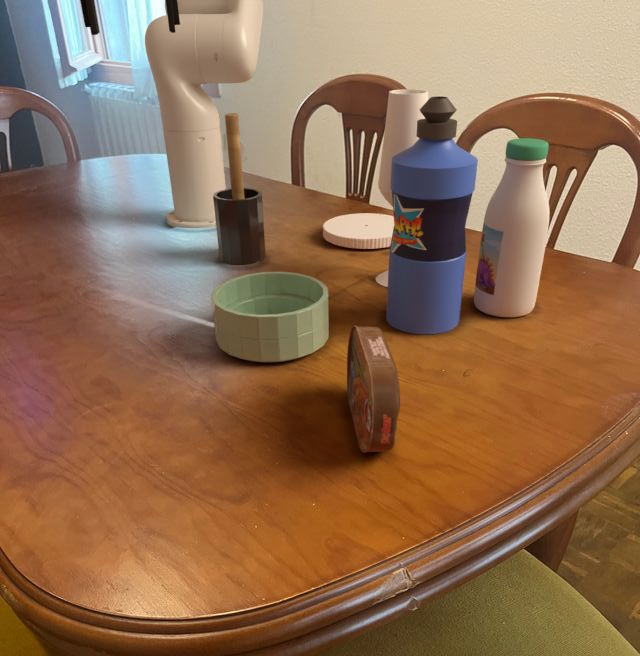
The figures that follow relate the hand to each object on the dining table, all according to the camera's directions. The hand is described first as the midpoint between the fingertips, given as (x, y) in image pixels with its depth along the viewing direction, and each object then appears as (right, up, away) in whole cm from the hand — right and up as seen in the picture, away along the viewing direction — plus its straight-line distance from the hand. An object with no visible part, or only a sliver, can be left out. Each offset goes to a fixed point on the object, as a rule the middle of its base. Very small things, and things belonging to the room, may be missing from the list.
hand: (134, 33), depth 84 cm
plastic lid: (+31, -20, +24) cm, 44 cm away
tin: (+28, -50, -21) cm, 61 cm away
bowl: (+18, -40, -6) cm, 44 cm away
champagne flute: (+35, -29, +10) cm, 47 cm away
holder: (+12, -25, +17) cm, 32 cm away
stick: (+12, -24, +17) cm, 32 cm away
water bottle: (+37, -37, -1) cm, 52 cm away
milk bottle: (+47, -35, +1) cm, 59 cm away
